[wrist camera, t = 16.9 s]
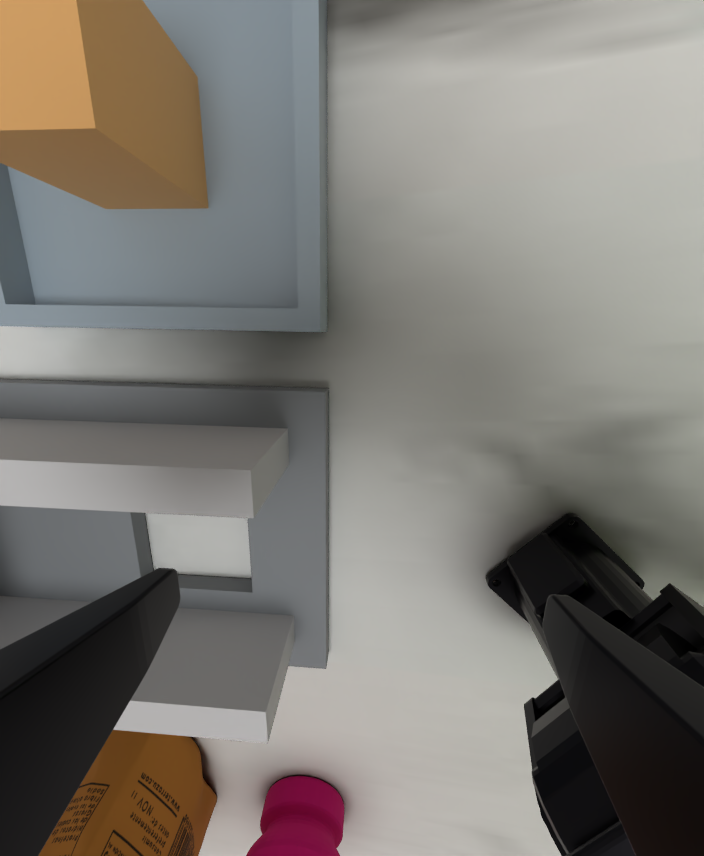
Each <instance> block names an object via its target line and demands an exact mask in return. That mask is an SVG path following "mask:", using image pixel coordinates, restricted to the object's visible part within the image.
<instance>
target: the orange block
mask: <svg viewBox="0 0 704 856" xmlns="http://www.w3.org/2000/svg"><path fill="white" fill-rule="evenodd" d="M0 163H2V164H4V165H6V166H9V167H11V168H13V169H16V170H18V171H20V172H22V173H25V174H27V175H29V176H31V177H34V178H36V179H38V180H41V181H43V182H45V183H47V184H50V185H52V186H54V187H57V188H59V189H61V190H63V191H66V192H68V193H70V194H73V195H75V196H77V197H79V198H82V199H84V200H86V201H89V202H91V203H93V204H95V205H98V206H100V207H102V208H105V209H200V208H208V196H207V184H206V172H205V160H204V148H203V136H202V124H201V112H200V100H199V88H198V77H197V76H196V74H195V73H194V71H193V70H192V69H191V67H190V66H189V64H188V63H187V62H186V60H185V59H184V57H183V56H182V55H181V53H180V52H179V50H178V49H177V48H176V46H175V45H174V43H173V42H172V41H171V39H170V38H169V36H168V35H167V34H166V32H165V31H164V29H163V28H162V27H161V25H160V24H159V22H158V21H157V20H156V18H155V17H154V15H153V14H152V13H151V11H150V10H149V9H148V7H147V6H146V4H145V3H144V2H143V0H0Z"/></svg>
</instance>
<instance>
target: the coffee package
mask: <svg viewBox="0 0 704 856" xmlns="http://www.w3.org/2000/svg"><path fill="white" fill-rule="evenodd" d="M216 802H217V796H216V794H215V793H214V792H213V791H212V789H211V788H210V787H209V786H208V785H207V784H206V782H205V781H204V779H203V774H202V764H201V754H200V750H199V748H198V746H197V744H196V743H195V742H194V741H193V740H192V738H191V737H189V736H178V735H167V734H156V733H145V732H133V731H122V730H113V731H112V732H111V734H110V736H109V737H108V739H107V741H106V742H105V744H104V746H103V747H102V749H101V751H100V753H99V754H98V756H97V758H96V759H95V761H94V763H93V764H92V766H91V768H90V769H89V771H88V773H87V774H86V776H85V778H84V780H83V781H82V783H81V785H80V786H79V788H78V790H77V791H76V793H75V795H74V796H73V798H72V800H71V802H70V803H69V805H68V807H67V808H66V810H65V812H64V813H63V815H62V817H61V818H60V820H59V822H58V823H57V825H56V827H55V829H54V830H53V832H52V834H51V835H50V837H49V839H48V840H47V842H46V844H45V845H44V847H43V849H42V850H41V852H40V854H39V856H198V854H199V852H200V849H201V846H202V843H203V839H204V836H205V833H206V830H207V827H208V824H209V821H210V818H211V815H212V813H213V810H214V807H215V805H216Z"/></svg>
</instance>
